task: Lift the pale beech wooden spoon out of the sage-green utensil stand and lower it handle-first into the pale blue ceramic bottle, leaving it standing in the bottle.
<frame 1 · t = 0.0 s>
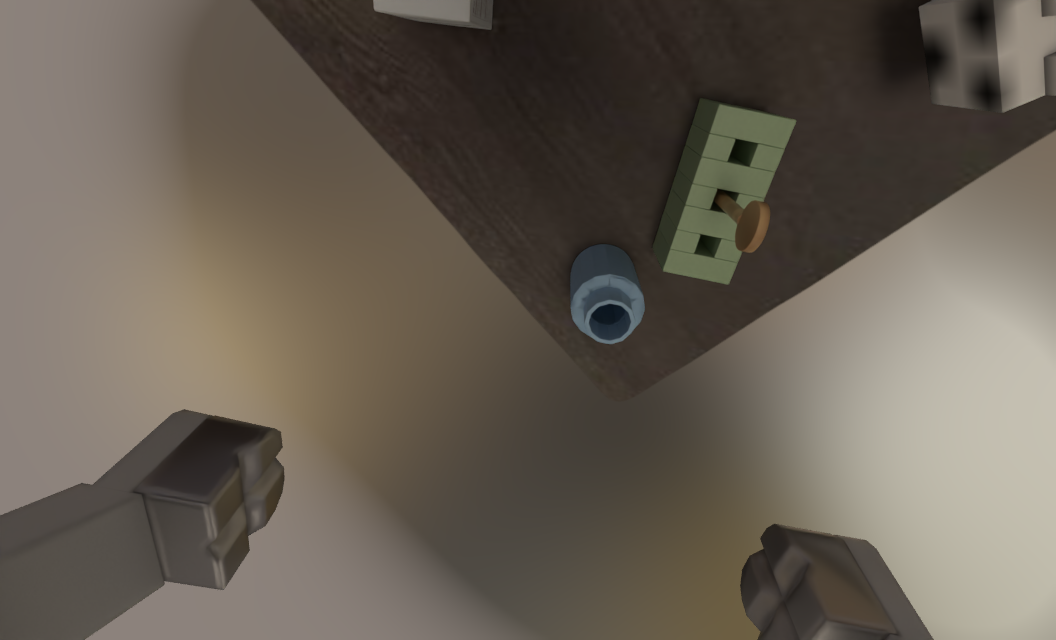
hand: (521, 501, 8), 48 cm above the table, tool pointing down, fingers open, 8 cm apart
spoon: (728, 205, 45), in the stand
bottle: (602, 273, 58), on the table
toy llama: (980, 6, 44), on the table
stand: (706, 184, 52), on the table
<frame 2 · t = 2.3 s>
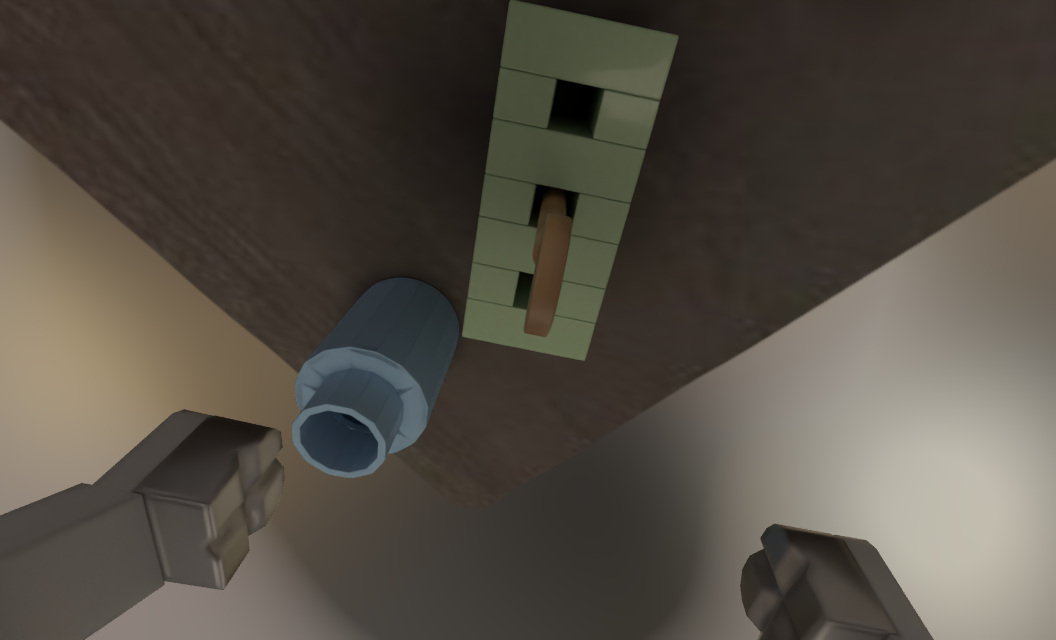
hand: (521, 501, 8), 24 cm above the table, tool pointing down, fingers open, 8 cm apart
spoon: (552, 218, 22), in the stand
bottle: (408, 324, 35), on the table
stand: (556, 176, 29), on the table
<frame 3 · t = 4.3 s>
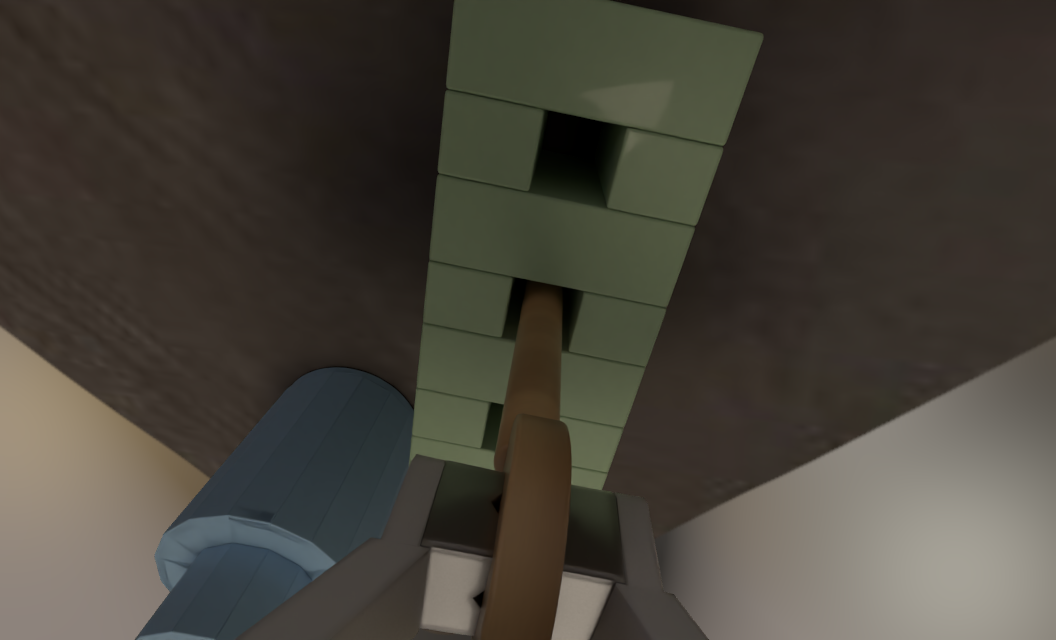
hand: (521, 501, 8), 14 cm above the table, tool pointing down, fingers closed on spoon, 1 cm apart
spoon: (539, 339, 13), in the stand, touching gripper
bottle: (351, 425, 26), on the table
stand: (549, 238, 21), on the table
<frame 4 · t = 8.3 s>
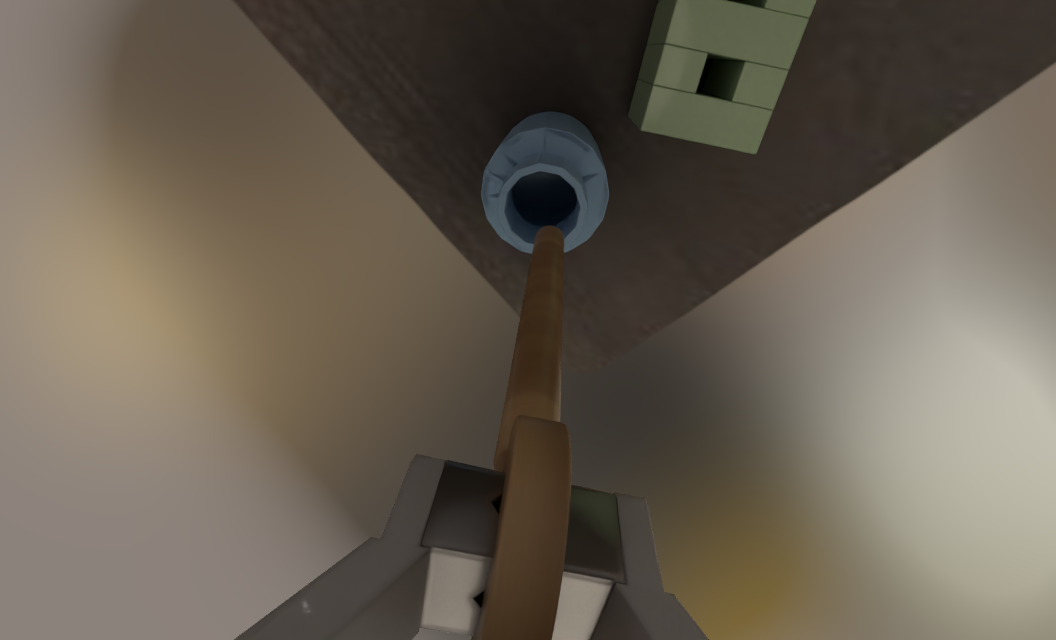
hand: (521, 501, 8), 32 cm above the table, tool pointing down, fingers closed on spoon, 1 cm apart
spoon: (539, 340, 13), point 26 cm above the table, touching gripper
bottle: (549, 164, 36), on the table
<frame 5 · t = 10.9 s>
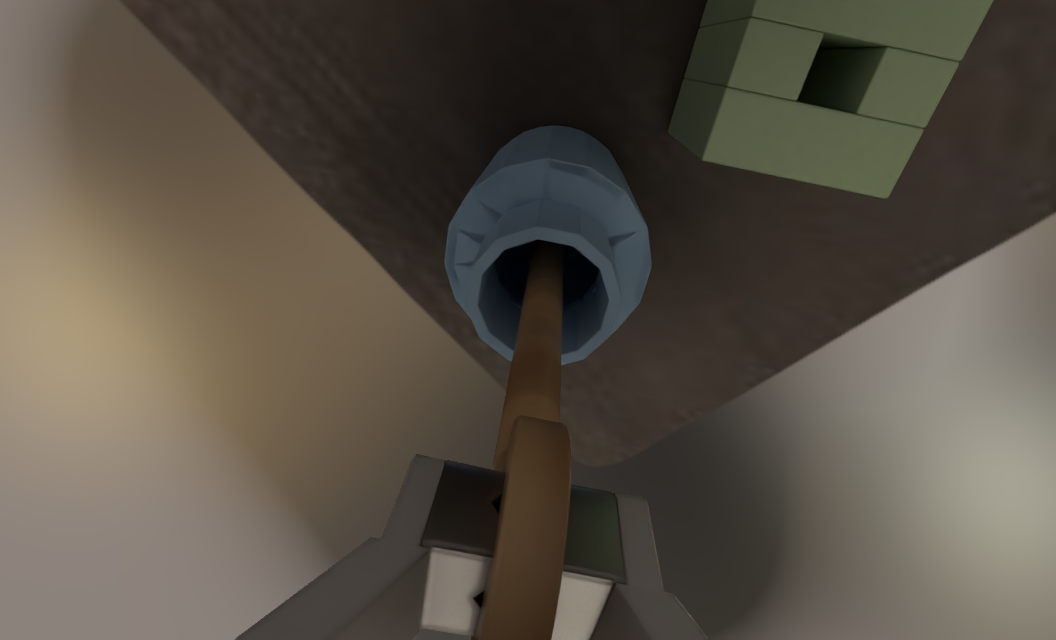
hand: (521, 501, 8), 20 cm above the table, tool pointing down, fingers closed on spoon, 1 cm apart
spoon: (538, 341, 13), point 14 cm above the table, touching gripper
bottle: (553, 200, 26), on the table
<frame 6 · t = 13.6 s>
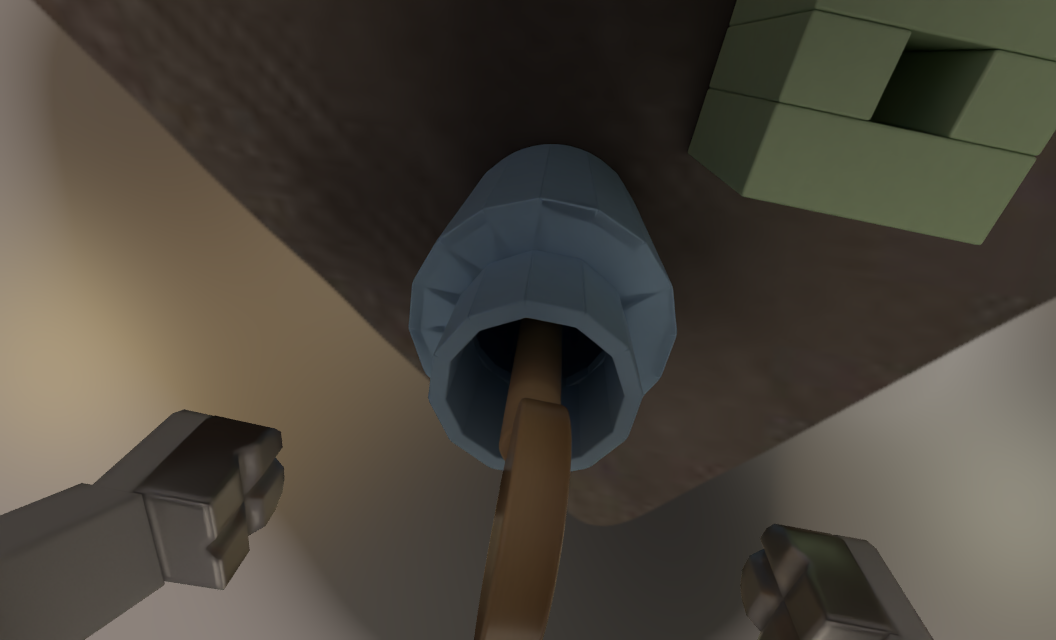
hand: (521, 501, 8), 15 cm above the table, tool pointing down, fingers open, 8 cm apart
spoon: (540, 333, 14), in the bottle
bottle: (550, 231, 22), on the table
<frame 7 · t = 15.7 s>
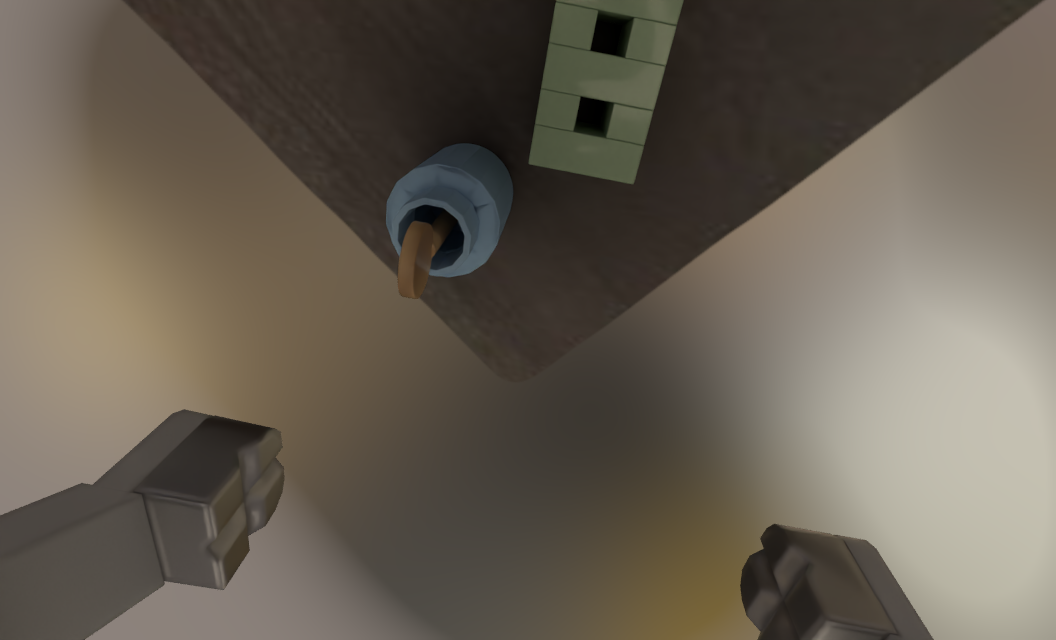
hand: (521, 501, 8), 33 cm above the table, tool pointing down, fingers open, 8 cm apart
spoon: (443, 225, 32), in the bottle
bottle: (467, 191, 39), on the table
stand: (603, 39, 34), on the table
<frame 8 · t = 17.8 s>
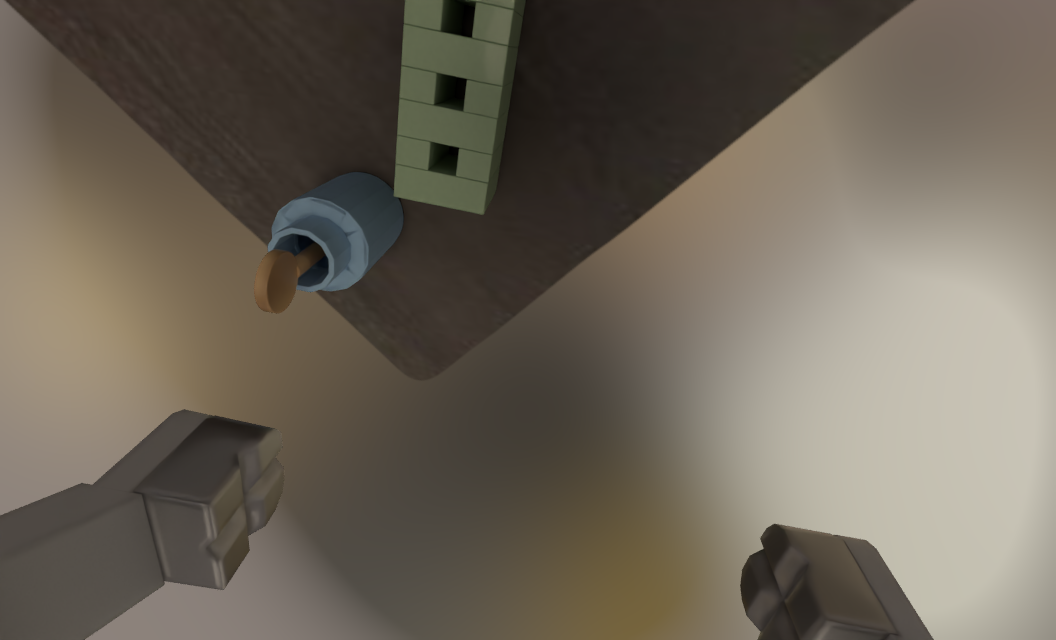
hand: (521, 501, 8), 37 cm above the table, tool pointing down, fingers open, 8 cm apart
spoon: (321, 247, 37), in the bottle
bottle: (364, 212, 45), on the table
stand: (468, 86, 39), on the table
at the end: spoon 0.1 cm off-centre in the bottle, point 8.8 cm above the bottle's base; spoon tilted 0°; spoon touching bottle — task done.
